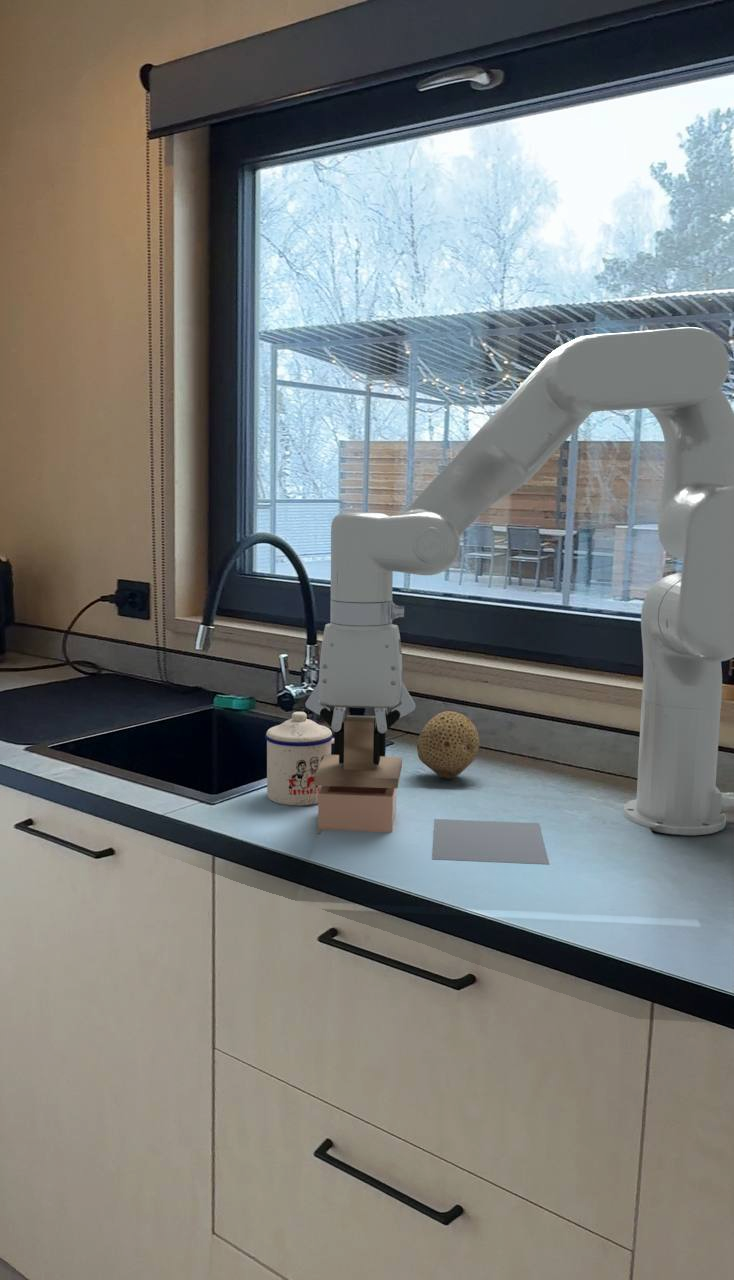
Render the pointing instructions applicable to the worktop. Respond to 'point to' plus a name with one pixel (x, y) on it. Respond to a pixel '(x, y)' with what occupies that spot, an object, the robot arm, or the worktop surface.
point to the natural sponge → (448, 744)
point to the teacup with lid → (296, 759)
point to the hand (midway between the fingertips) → (359, 759)
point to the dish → (356, 808)
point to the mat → (488, 841)
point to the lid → (359, 760)
